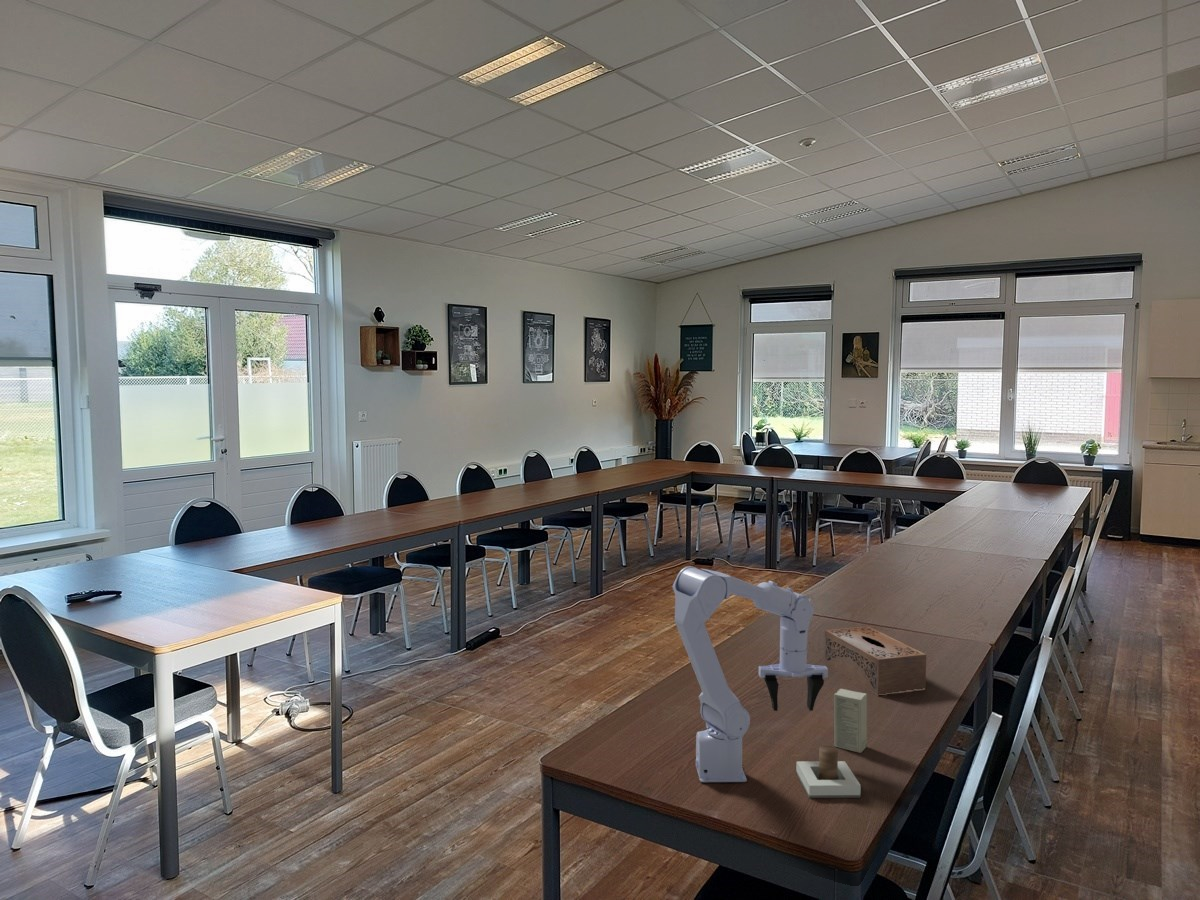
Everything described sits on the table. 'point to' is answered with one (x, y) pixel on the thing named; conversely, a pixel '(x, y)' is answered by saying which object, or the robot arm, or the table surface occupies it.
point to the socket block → (828, 781)
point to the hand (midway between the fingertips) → (792, 708)
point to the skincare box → (850, 720)
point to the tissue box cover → (875, 659)
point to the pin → (828, 763)
